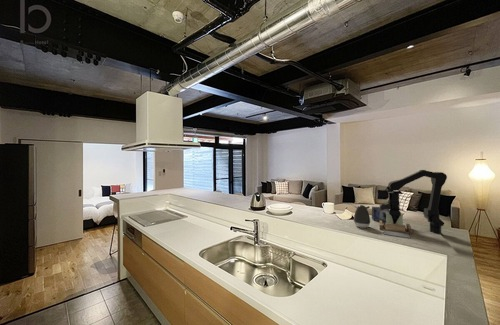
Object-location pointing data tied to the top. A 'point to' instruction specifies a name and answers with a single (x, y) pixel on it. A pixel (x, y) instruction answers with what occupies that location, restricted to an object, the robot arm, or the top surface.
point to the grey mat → (396, 234)
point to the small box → (379, 214)
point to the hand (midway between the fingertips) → (394, 222)
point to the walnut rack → (396, 230)
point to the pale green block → (390, 220)
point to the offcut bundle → (395, 227)
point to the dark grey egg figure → (362, 217)
